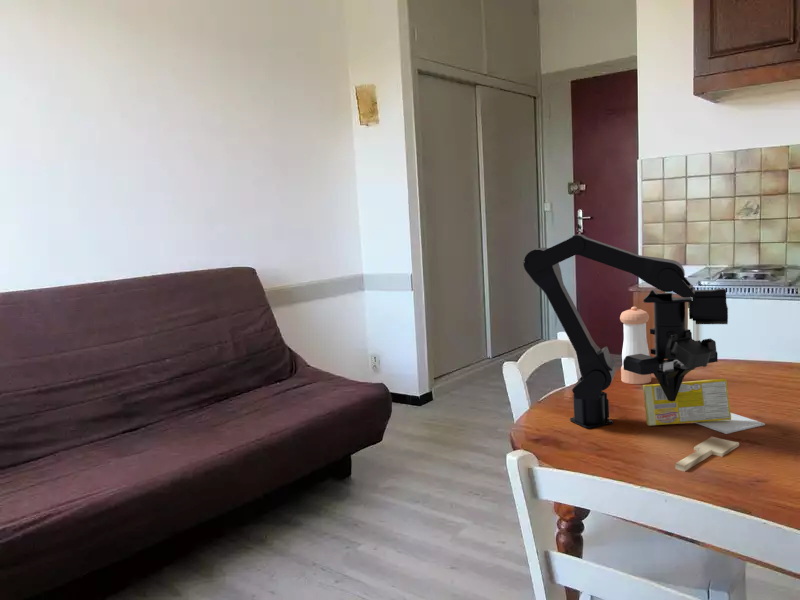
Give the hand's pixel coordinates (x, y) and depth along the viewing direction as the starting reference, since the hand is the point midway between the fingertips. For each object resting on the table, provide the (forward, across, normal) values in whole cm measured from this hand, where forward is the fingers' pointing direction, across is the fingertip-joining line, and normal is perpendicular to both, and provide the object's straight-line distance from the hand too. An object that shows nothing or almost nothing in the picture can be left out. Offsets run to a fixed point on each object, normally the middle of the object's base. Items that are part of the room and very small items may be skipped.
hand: (671, 400), depth 130 cm
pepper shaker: (+6, +18, +32) cm, 37 cm away
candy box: (+5, +4, 0) cm, 7 cm away
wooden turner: (+6, -5, -14) cm, 16 cm away
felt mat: (+6, +11, 0) cm, 12 cm away
